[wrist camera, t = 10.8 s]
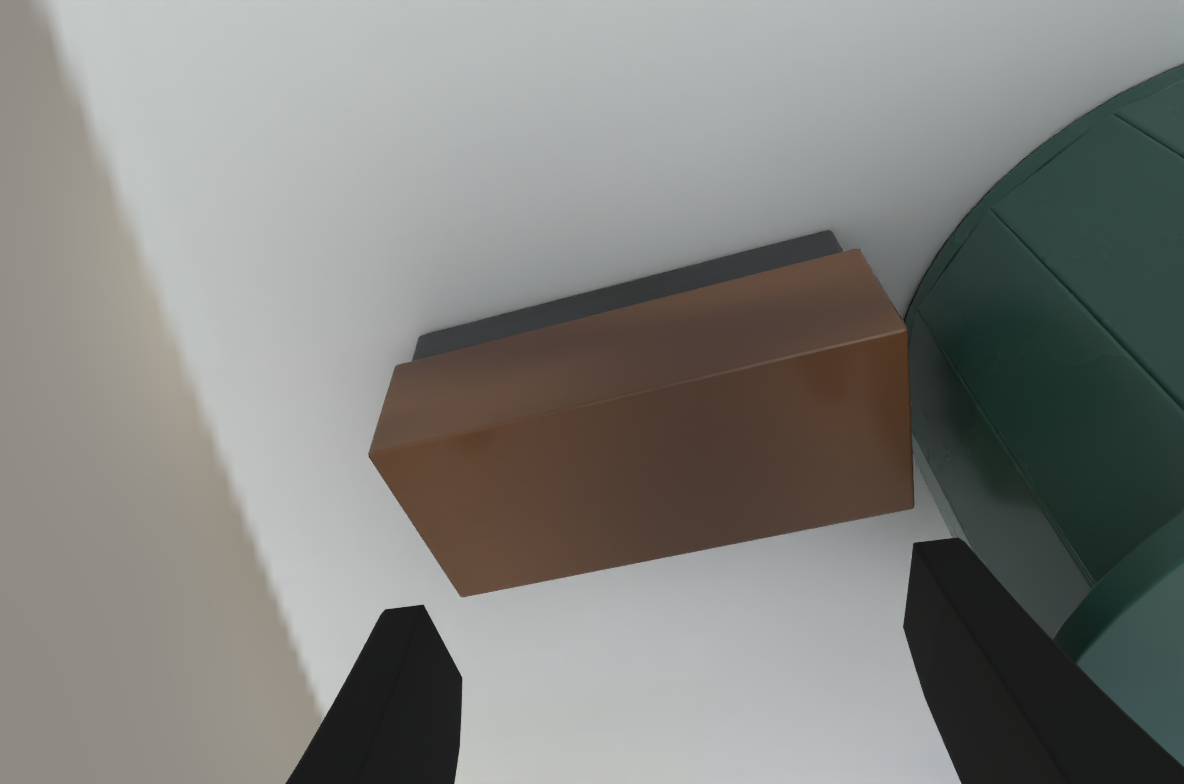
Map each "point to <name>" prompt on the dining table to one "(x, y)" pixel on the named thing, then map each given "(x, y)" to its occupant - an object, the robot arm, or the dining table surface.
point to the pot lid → (1138, 635)
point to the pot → (1061, 355)
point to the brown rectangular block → (654, 418)
